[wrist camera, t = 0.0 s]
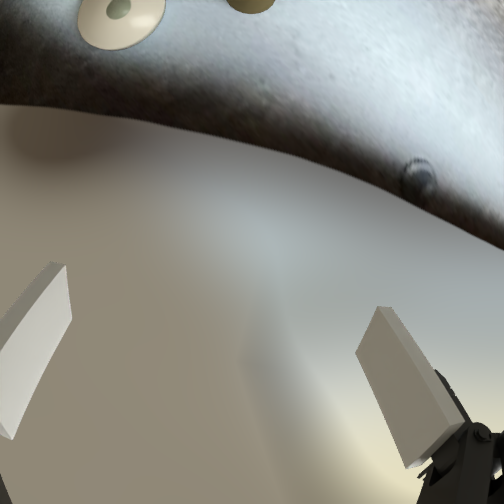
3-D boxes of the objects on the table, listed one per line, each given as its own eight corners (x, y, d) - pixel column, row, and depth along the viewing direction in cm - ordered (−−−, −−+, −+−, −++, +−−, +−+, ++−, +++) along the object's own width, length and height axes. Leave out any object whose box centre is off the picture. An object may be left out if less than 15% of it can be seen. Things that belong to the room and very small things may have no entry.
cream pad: (94, -22, 24) (90, -26, 23) (175, -25, 26) (173, -30, 24) (74, 51, 29) (69, 50, 27) (155, 52, 30) (152, 49, 29)
